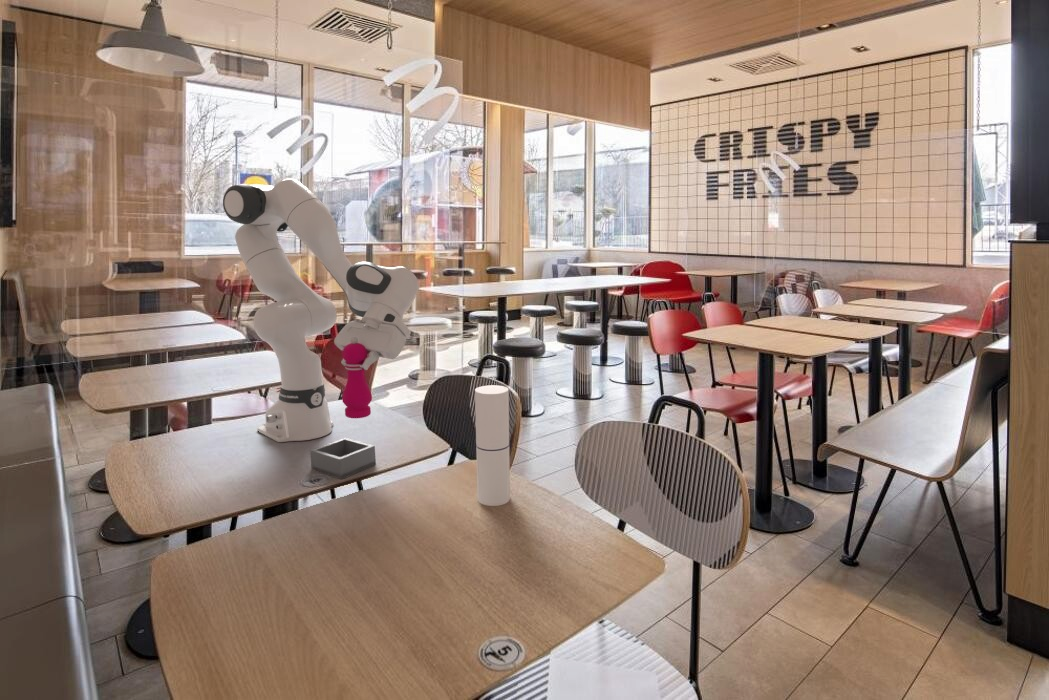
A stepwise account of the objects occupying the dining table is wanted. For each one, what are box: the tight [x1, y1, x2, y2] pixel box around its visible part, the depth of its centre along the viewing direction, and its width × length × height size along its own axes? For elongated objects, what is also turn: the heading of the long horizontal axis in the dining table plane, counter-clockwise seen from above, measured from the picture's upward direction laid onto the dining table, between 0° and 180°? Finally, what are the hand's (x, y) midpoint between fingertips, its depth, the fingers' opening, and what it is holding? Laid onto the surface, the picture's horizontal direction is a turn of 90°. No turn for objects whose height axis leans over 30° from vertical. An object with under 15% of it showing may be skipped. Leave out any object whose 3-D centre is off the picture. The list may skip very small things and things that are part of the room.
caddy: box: [309, 437, 377, 480], centre depth 159 cm, size 11×11×5 cm
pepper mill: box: [341, 337, 373, 419], centre depth 159 cm, size 7×7×20 cm
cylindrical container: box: [474, 384, 511, 507], centre depth 138 cm, size 7×7×25 cm
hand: (353, 366), depth 158 cm, fingers closed on pepper mill, 5 cm apart
